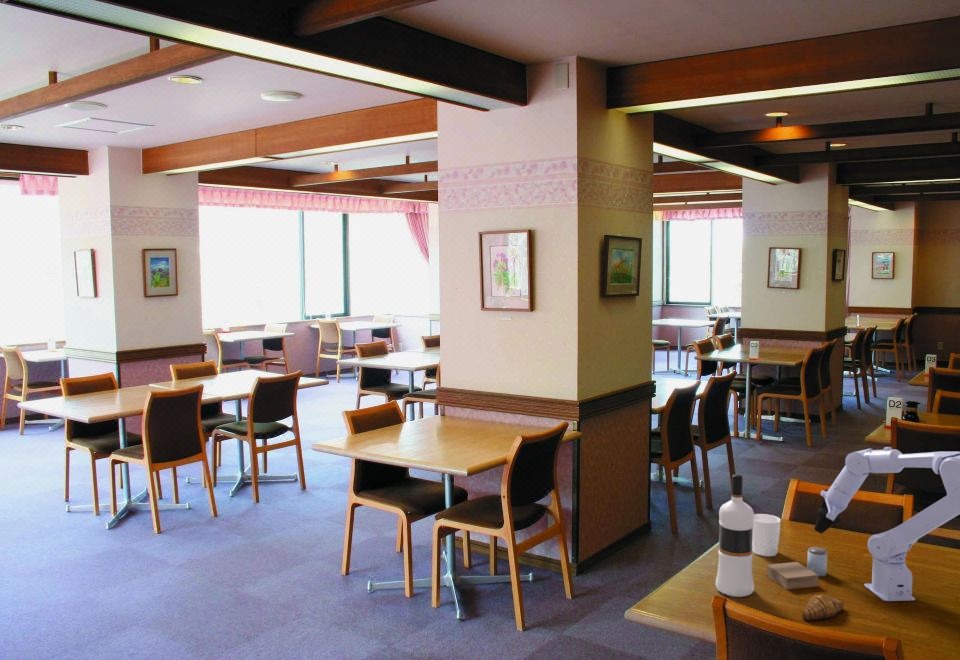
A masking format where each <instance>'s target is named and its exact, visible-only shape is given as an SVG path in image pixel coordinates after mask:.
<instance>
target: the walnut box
mask: <svg viewBox="0 0 960 660" xmlns="http://www.w3.org/2000/svg"><path fill="white" fill-rule="evenodd" d="M765 574H766V577H767V578H769V579H770V580H772V581H773V582H775V583H776V584H777V585H779V586H780V587H782V588H784V589H785V590H797V589H807V588H814V587H818V586H819V576H818V575H817V574H816V573H814V572H813V571H811V570H809V569H808V568H807V566H804V565H803V564H801V563H800V562H798V561H793V562H792V561H791V562H782V563H780V562H779V563H772V564H766V573H765Z"/></svg>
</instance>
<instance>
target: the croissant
mask: <svg viewBox="0 0 960 660" xmlns="http://www.w3.org/2000/svg"><path fill="white" fill-rule="evenodd" d="M844 606H845V605H844V602H843V601H841V600H840V599H838V598H834V597H830V596H828V595H825V594H824V595H823V594H815V595H813V596H811V597H809V600H808V602H807V604H806V605H805V607H804V608H803V611H802V615H801V616H802V619H803V620H804V621H806V622H809V621H810V622H814V621H821V620H827V619H831V618H833V617H834V616H836V615H837V614H840V612H842V610H843V609H844Z"/></svg>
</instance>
